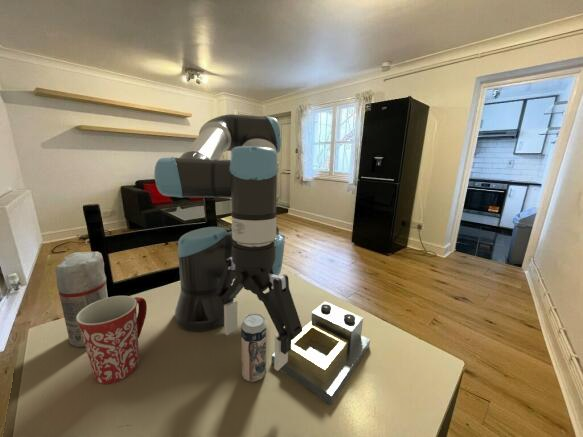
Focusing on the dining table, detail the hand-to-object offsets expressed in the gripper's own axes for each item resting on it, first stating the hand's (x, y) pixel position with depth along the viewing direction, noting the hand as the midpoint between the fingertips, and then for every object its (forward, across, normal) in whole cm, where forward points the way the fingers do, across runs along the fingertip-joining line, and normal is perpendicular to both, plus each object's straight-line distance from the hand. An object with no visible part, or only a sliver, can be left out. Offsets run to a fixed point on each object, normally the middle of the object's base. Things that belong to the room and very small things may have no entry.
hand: (254, 346), depth 47 cm
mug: (+7, -22, -15) cm, 27 cm away
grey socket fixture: (+6, +8, +13) cm, 17 cm away
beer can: (+7, 0, 0) cm, 7 cm away
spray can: (+6, -36, -17) cm, 40 cm away
